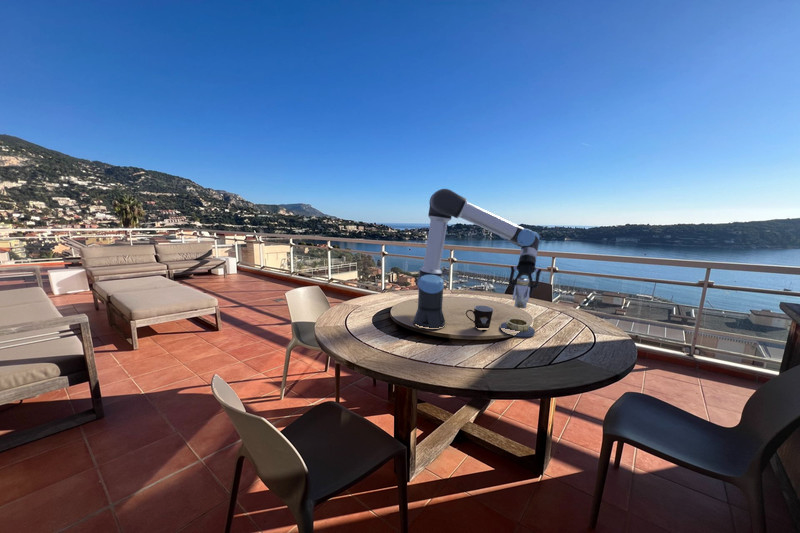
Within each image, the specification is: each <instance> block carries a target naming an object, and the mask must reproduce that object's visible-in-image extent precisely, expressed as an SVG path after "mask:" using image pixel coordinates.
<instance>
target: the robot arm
mask: <svg viewBox="0 0 800 533" xmlns="http://www.w3.org/2000/svg"><path fill="white" fill-rule="evenodd" d="M428 203H429V207H428V208H429V209H428V215H427V216H428V218H429V219H430V221H429V222H430V223H429V226H428V230H429V231H428V234H427V235H428V236H427V241H426V248H425V254H424V258H423V259H424V261H423V266H422V267H420V268H419V274H418V278H417V280H416V285H417V286H416V287H417V291H418V294H417V295H418V297H417V310H416V313H415V315H414V318H413V324H414V323H415V324H417V325H419V326H423V327H429V328H439V327H443V326H444V325H445V326H446V321H445V316H444V313H443V302H444V301H443V299H444V287H445V284H444V279H443V278H442V275H443V271H442V270H441V264H442V257H443V252H444V246H445V241H446V235H447V227H448V223H449V221H452V217H453V218H455V219H459V218H460V219H462V220H465V221H466V222H469V223H471V224H474V225H476V226H478V227H480V228H482V229H485V230H487V231H489V232H491V233H493V234H495V235H498V236H499V237H500V238H501V239H504V241H507V242H509V243H511V244H514V245H516V246H517V247H519V248H521V249H520V253H519V258H518V264H517V265H516V266H514V265H513V266H510V276H509V280H508V286H510V287H511V293H512V301H515V297H516V288H517V278H523V276H526V277H528V278H527V279H529V287H528V292H527V298H526V302H527V303H529V299H530V296H533V292H534V291H533V290H538V288H539V279H540V276H541V274H542V269H541V268H536V264H537V263H536V262H537V256H538V251H539V245H540V235H539V233H538V232H536V231H535V230H534V231H533V230H531V229H530V228H525V227H523V226H520V225H517V224H516V223H513V222H511V221H510V220H507V219H505V218H503V217H501V216H499V215H497V214H495V213H493V212H490V211H488V210H486V209H484V208H482V207H479V206H478V205H475V204H473V203H470V202H469V201H468V199H467V198H465V197H463V196H462V195H460V194H458V193H456V192H455V191H453V190H451V189H449V188H441V189H439V190H437V191H435V192H434V193H432V195H431V196H430V198H429V202H428ZM516 270H517V271H518V273H517V275H516V276H515V273H516ZM533 273H535V274H536V275H535V282H533V277H532V274H533ZM514 276H515V279H514ZM533 283H534V284H533ZM445 326H444V327H445ZM444 327H443V328H444Z"/></svg>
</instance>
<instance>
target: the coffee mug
mask: <svg viewBox="0 0 800 533" xmlns="http://www.w3.org/2000/svg"><path fill="white" fill-rule="evenodd" d="M469 312H472V313H473V315H474V319H473V318H470V317H469V316H468V313H469ZM493 312H494V308H493V307H490V306H488V305H474V308H473V310H472V309H468V310H466V312H465V315H466V318H467V319H469V320H470V321H471V322H472V323H474V328H475V327H477V328H489V329H490V326H491V320H492V316H493Z"/></svg>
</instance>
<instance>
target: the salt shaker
mask: <svg viewBox="0 0 800 533" xmlns="http://www.w3.org/2000/svg"><path fill="white" fill-rule="evenodd" d="M528 287H530V285H529V278H525V277H521V278H517V288H516V296H515V300H514V307H516V308H517V309H526V308H527V303H528V302H526V298H527V292H528Z"/></svg>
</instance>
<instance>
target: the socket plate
mask: <svg viewBox="0 0 800 533" xmlns="http://www.w3.org/2000/svg"><path fill="white" fill-rule="evenodd" d="M530 324H531V323H530V322H529V321H527V320H525V319H523V318H518V317H511V318H507V319H506V321H505V322H502V323H501V324H500V326H499V328H500V327H501V328H505V329H510V330H515V331H520V332H519V333H517V334H516V335H515V336H513V337H514V338H521V339H527V338H528V339H529V338H532V337H534V336H535V334H536V329H534V327H532V326H530Z"/></svg>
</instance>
